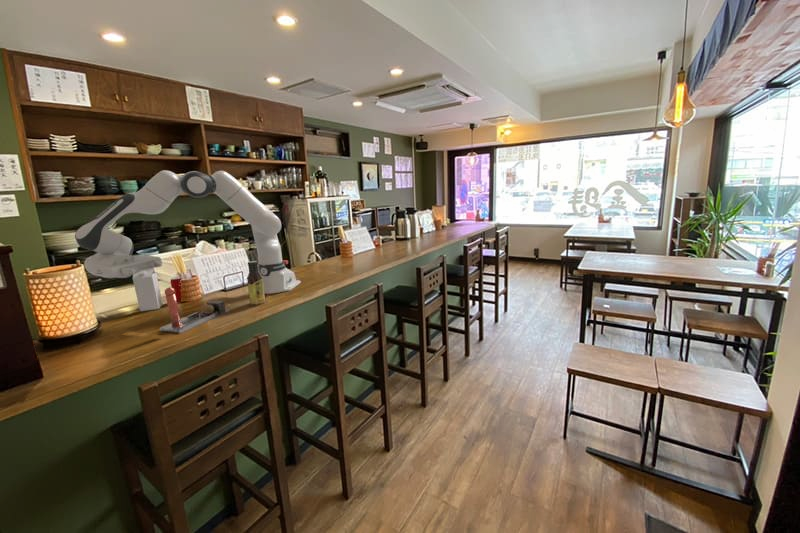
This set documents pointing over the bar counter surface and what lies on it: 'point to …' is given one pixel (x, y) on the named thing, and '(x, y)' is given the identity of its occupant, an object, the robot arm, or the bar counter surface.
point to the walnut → (208, 309)
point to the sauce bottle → (255, 284)
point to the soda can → (176, 287)
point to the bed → (202, 316)
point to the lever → (174, 312)
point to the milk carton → (147, 290)
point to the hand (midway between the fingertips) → (147, 267)
